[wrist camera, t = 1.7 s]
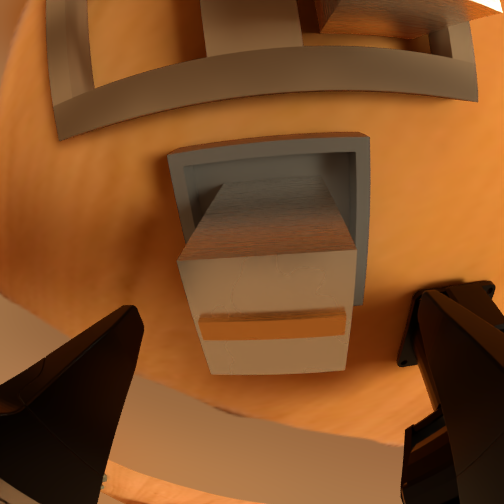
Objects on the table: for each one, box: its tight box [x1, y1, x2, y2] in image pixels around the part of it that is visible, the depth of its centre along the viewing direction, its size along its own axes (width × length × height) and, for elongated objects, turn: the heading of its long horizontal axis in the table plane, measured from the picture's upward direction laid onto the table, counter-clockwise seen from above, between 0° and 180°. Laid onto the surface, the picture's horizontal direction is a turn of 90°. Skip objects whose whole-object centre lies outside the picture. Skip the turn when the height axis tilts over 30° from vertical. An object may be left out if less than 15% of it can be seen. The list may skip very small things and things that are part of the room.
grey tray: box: [167, 132, 370, 306], centre depth 14 cm, size 8×8×2 cm
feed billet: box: [177, 176, 357, 375], centre depth 11 cm, size 4×4×7 cm
